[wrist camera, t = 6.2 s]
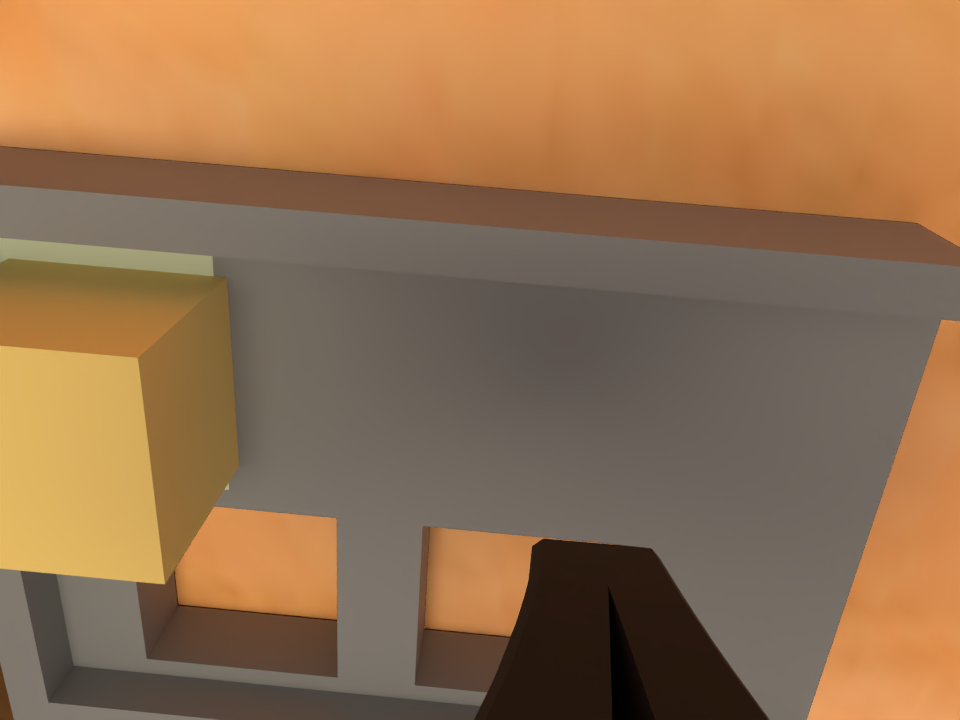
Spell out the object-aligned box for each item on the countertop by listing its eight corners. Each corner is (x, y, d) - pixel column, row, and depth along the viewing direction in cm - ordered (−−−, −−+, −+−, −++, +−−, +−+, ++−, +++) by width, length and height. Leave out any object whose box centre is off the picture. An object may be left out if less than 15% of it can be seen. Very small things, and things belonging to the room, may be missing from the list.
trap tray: (917, 223, 17) (999, 269, 14) (770, 703, 23) (805, 807, 20) (-8, 145, 17) (-118, 175, 14) (80, 635, 23) (15, 727, 20)
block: (226, 277, 16) (137, 358, 12) (239, 465, 18) (165, 584, 14) (8, 258, 16) (-143, 332, 13) (43, 448, 18) (-80, 560, 14)
